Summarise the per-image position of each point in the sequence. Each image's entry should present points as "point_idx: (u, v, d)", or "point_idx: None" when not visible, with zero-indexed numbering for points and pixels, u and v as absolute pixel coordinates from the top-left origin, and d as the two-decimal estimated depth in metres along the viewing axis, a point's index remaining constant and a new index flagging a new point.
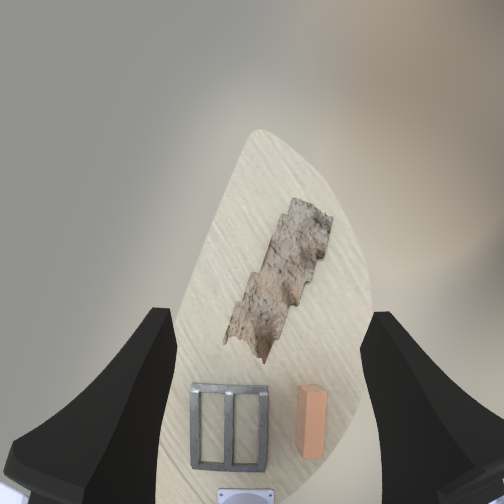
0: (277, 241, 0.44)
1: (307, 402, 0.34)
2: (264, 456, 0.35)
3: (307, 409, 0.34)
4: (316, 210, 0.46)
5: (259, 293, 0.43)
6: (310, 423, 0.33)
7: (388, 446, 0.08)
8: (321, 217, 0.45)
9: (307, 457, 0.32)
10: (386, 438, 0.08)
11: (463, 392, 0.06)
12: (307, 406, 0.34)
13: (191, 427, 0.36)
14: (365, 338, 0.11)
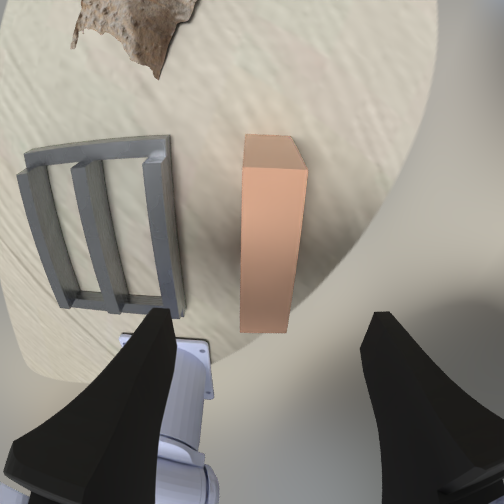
0: None
1: (245, 197, 0.12)
2: (172, 296, 0.20)
3: (245, 217, 0.13)
4: None
5: None
6: (256, 255, 0.14)
7: (388, 446, 0.08)
8: None
9: (249, 329, 0.17)
10: (386, 438, 0.08)
11: (463, 392, 0.06)
12: (245, 208, 0.13)
13: (36, 242, 0.18)
14: (365, 338, 0.11)
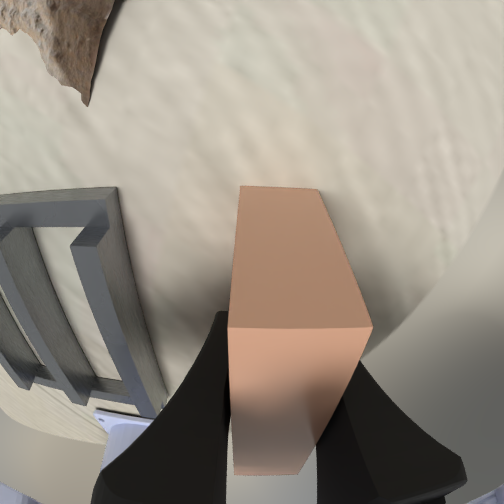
0: None
1: (235, 370, 0.06)
2: (145, 400, 0.14)
3: (237, 394, 0.06)
4: None
5: None
6: (257, 428, 0.07)
7: (321, 455, 0.08)
8: None
9: (247, 473, 0.10)
10: (320, 446, 0.08)
11: (394, 406, 0.06)
12: (236, 384, 0.06)
13: None
14: None
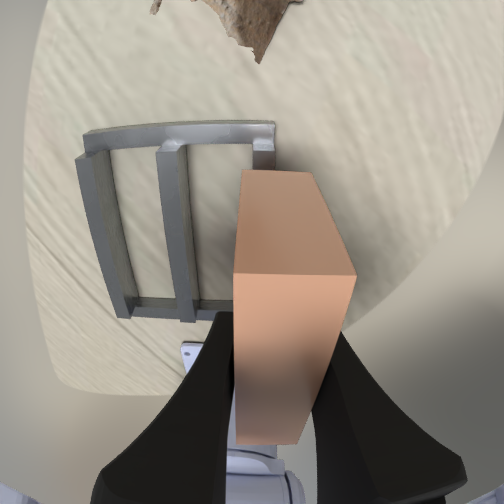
0: None
1: (239, 318, 0.07)
2: None
3: (240, 344, 0.07)
4: None
5: None
6: (258, 384, 0.08)
7: (321, 455, 0.08)
8: None
9: (248, 442, 0.11)
10: (320, 446, 0.08)
11: (394, 406, 0.06)
12: (239, 333, 0.07)
13: (95, 242, 0.16)
14: None
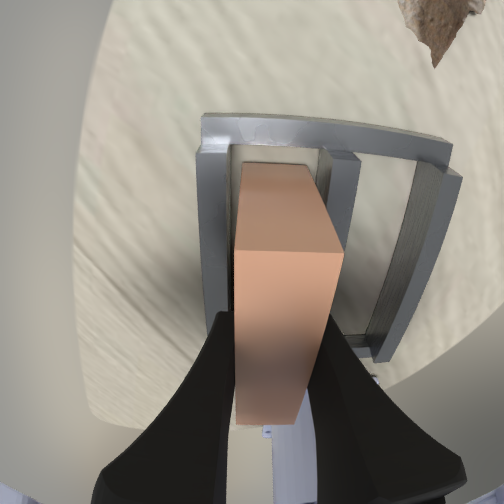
0: None
1: (239, 292, 0.08)
2: (398, 337, 0.15)
3: (240, 318, 0.08)
4: None
5: None
6: (256, 359, 0.09)
7: (321, 455, 0.08)
8: None
9: (248, 422, 0.12)
10: (320, 446, 0.08)
11: (394, 406, 0.06)
12: (239, 307, 0.08)
13: (206, 275, 0.13)
14: None
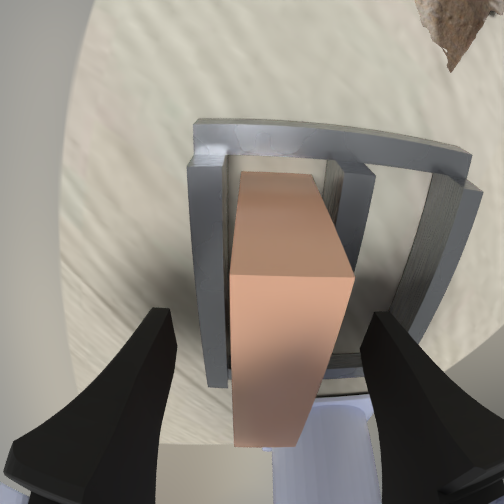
0: None
1: (235, 319, 0.07)
2: None
3: (237, 346, 0.07)
4: None
5: None
6: (255, 386, 0.08)
7: (388, 446, 0.08)
8: None
9: (246, 445, 0.11)
10: (386, 438, 0.08)
11: (463, 392, 0.06)
12: (236, 335, 0.07)
13: (201, 299, 0.11)
14: (365, 338, 0.11)
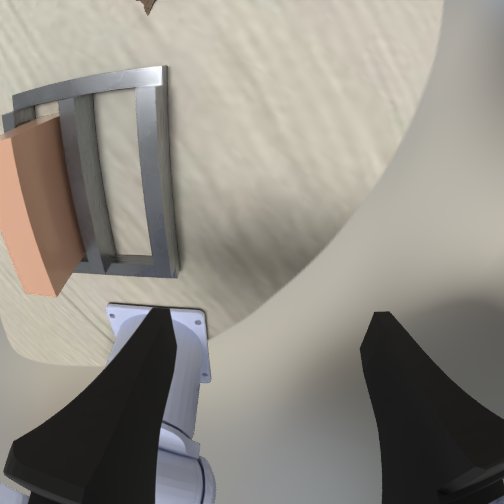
0: None
1: None
2: (163, 248, 0.18)
3: None
4: None
5: None
6: (4, 218, 0.12)
7: (388, 446, 0.08)
8: None
9: (29, 290, 0.15)
10: (386, 438, 0.08)
11: (463, 392, 0.06)
12: None
13: None
14: (365, 338, 0.11)
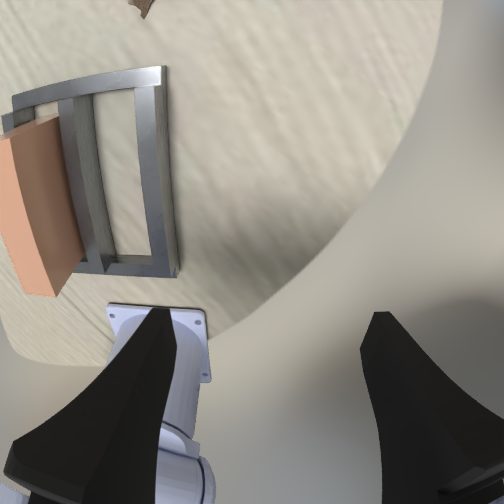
0: None
1: None
2: (163, 248, 0.18)
3: None
4: None
5: None
6: (3, 218, 0.12)
7: (388, 446, 0.08)
8: None
9: (29, 291, 0.15)
10: (386, 438, 0.08)
11: (463, 392, 0.06)
12: None
13: None
14: (365, 338, 0.11)
